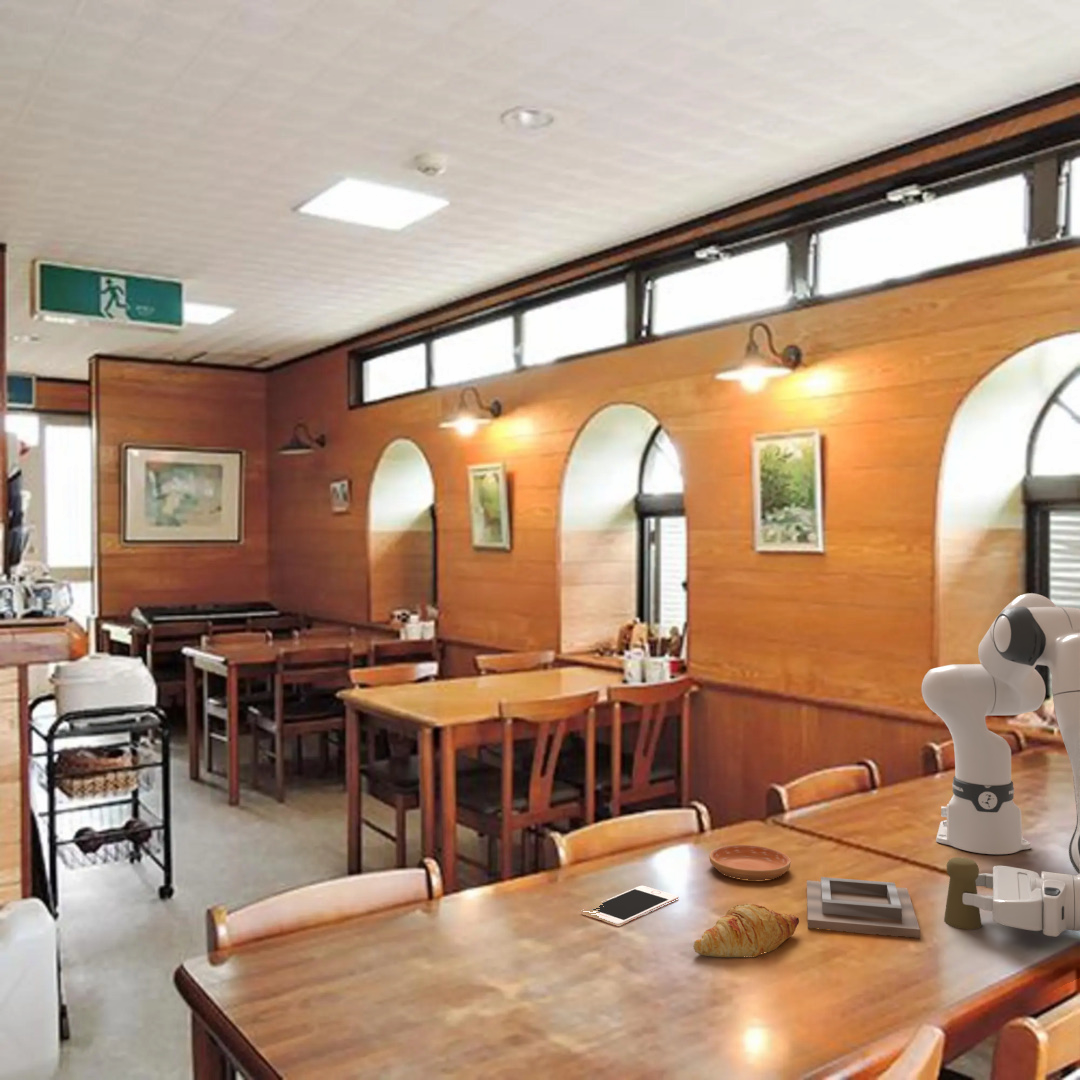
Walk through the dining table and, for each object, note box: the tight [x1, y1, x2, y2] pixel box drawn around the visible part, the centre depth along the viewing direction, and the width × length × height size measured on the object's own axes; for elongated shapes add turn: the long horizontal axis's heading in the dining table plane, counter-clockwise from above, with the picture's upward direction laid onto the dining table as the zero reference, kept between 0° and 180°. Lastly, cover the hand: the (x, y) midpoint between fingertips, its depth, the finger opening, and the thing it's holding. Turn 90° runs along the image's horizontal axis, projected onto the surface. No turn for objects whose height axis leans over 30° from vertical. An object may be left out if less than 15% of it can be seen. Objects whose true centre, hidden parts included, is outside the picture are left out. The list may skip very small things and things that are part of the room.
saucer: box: [708, 844, 792, 880], centre depth 202 cm, size 16×16×3 cm
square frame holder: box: [806, 876, 921, 939], centre depth 180 cm, size 20×18×4 cm
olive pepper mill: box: [943, 856, 983, 930], centre depth 175 cm, size 6×6×11 cm
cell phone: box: [583, 885, 680, 924], centre depth 183 cm, size 9×18×1 cm, turn 137°
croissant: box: [693, 903, 800, 958], centre depth 165 cm, size 21×10×8 cm, turn 119°
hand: (963, 888), depth 175 cm, fingers open, 8 cm apart
